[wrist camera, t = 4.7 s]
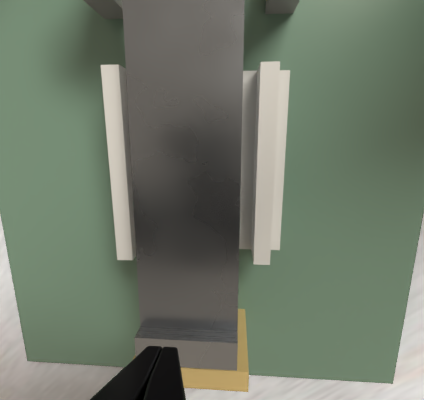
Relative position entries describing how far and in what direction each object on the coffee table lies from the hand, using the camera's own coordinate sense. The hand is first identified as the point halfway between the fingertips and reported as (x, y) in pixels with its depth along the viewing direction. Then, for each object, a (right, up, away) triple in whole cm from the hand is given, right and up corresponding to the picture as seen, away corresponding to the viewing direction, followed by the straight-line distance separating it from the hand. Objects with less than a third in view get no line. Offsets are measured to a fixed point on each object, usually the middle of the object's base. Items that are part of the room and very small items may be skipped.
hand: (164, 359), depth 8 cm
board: (+1, +4, +8) cm, 9 cm away
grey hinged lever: (+1, +6, +3) cm, 7 cm away
